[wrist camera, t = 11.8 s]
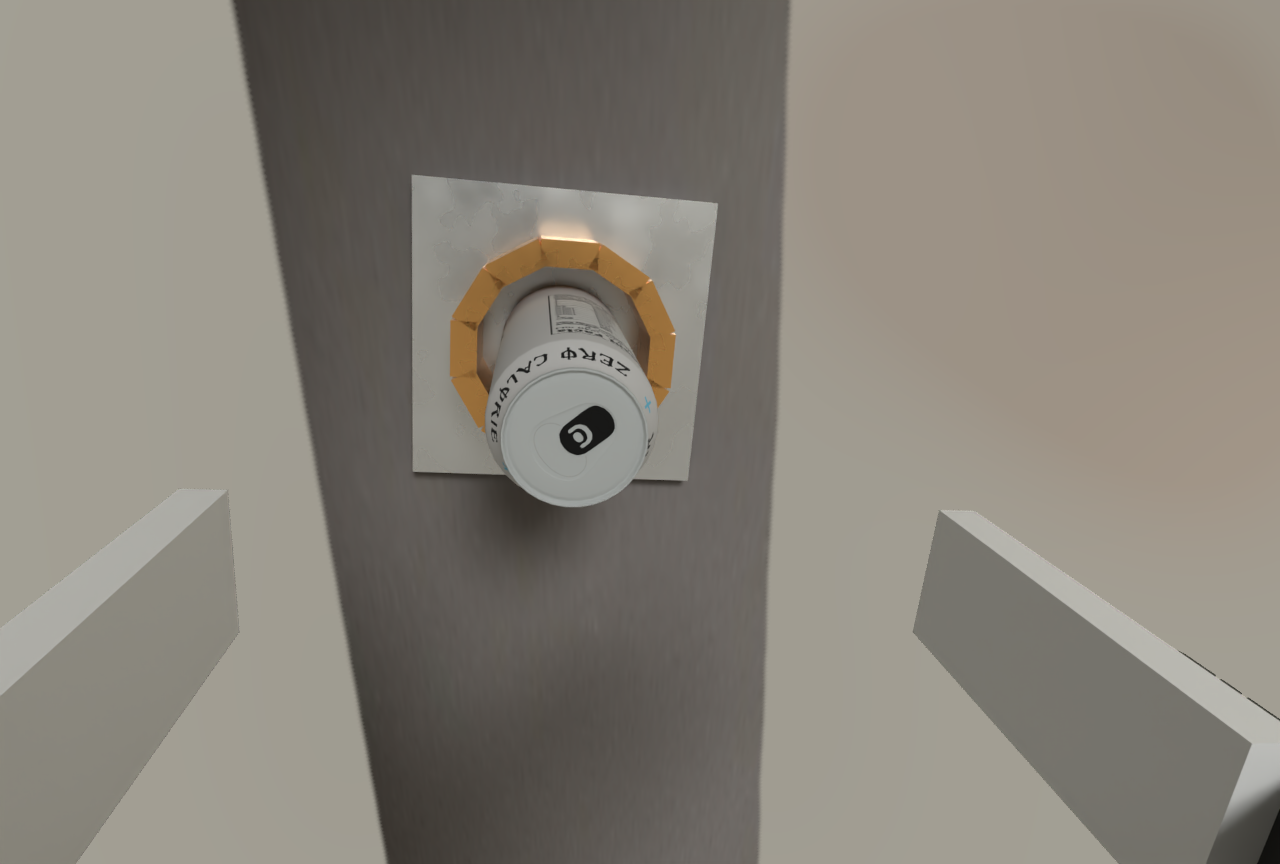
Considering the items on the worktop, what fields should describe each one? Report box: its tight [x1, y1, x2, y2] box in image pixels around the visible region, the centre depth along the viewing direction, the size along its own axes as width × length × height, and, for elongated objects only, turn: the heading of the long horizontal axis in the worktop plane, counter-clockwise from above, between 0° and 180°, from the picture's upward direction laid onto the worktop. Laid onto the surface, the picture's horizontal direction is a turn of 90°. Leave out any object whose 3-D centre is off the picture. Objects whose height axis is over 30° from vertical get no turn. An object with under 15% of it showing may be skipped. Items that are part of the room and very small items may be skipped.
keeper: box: [412, 175, 718, 481], centre depth 36 cm, size 15×15×5 cm
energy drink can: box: [485, 286, 659, 507], centre depth 31 cm, size 6×6×15 cm
